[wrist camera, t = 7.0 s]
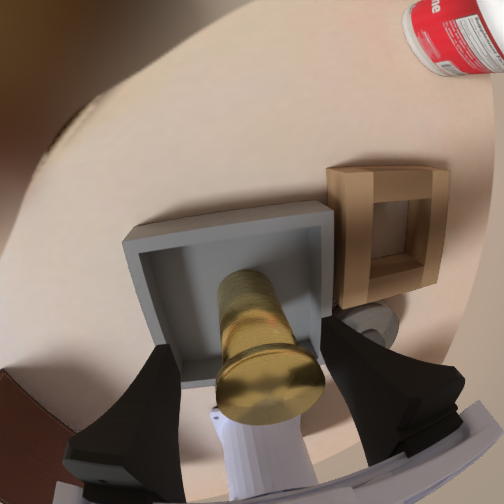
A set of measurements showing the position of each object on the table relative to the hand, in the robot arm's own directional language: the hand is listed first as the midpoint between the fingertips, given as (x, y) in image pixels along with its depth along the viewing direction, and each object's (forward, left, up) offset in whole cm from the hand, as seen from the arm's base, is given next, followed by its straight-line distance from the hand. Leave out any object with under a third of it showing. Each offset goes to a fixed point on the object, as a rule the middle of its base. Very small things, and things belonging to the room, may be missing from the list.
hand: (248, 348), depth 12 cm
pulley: (-5, -8, -5) cm, 11 cm away
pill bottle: (+17, -16, -5) cm, 24 cm away
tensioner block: (+3, -10, -5) cm, 12 cm away
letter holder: (-17, +26, -6) cm, 31 cm away
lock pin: (0, 0, -5) cm, 5 cm away
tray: (0, 0, -5) cm, 5 cm away
